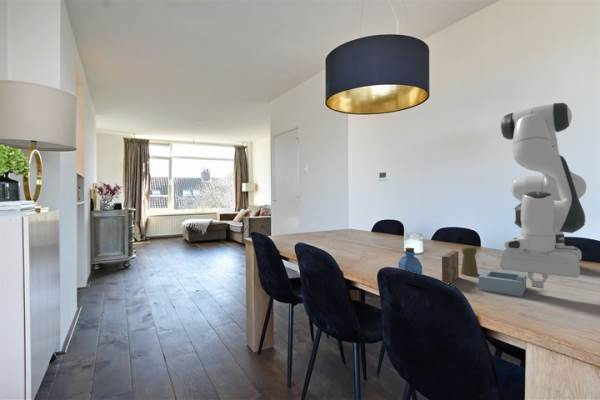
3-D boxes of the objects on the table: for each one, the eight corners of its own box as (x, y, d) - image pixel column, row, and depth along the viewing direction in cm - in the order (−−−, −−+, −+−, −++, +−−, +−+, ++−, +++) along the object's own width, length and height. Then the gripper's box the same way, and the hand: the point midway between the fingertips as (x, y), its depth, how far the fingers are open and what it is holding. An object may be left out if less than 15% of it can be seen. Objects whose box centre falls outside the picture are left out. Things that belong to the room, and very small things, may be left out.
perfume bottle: (398, 278, 122) (398, 247, 122) (414, 278, 123) (414, 246, 123) (405, 283, 116) (405, 250, 116) (422, 282, 117) (421, 249, 116)
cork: (480, 276, 124) (480, 247, 124) (463, 275, 125) (463, 247, 125) (475, 272, 130) (474, 245, 130) (458, 271, 131) (458, 244, 131)
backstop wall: (452, 276, 124) (452, 250, 124) (458, 277, 123) (458, 251, 123) (442, 284, 113) (441, 256, 113) (448, 285, 112) (447, 257, 112)
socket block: (485, 281, 116) (485, 269, 116) (526, 287, 108) (526, 274, 108) (478, 289, 107) (478, 276, 107) (522, 296, 99) (522, 282, 99)
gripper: (581, 245, 97) (581, 290, 97) (501, 239, 110) (501, 280, 110) (582, 248, 92) (582, 296, 93) (498, 242, 105) (499, 284, 106)
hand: (537, 287), depth 102 cm, fingers closed
